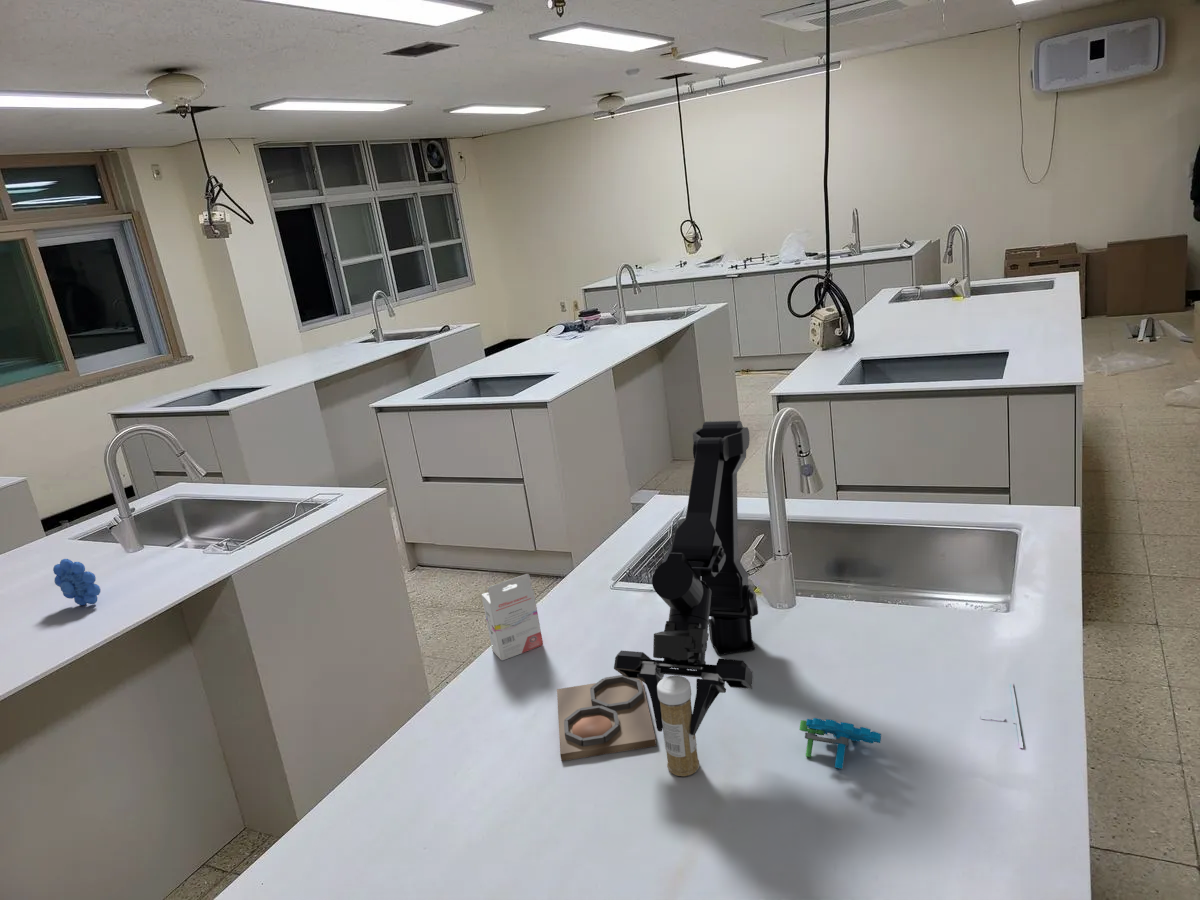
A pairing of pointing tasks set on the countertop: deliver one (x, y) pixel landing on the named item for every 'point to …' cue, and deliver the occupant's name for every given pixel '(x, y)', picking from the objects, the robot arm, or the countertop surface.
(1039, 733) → the countertop surface
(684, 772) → the sprinkles bottle
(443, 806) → the countertop surface
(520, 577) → the ink cartridge box
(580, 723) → the board
